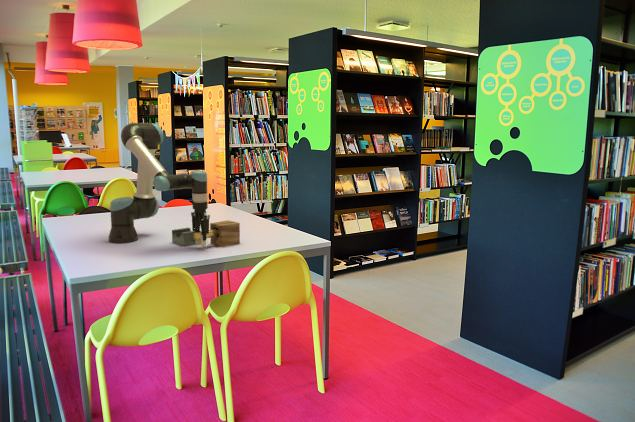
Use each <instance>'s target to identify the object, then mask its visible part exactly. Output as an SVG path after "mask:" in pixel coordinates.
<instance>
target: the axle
mask: <svg viewBox="0 0 635 422" xmlns="http://www.w3.org/2000/svg"><path fill="white" fill-rule="evenodd" d="M201 234H202V232H197V233H193V239H194V240H195V241H196V240H201ZM216 236H219V228H218V229H212V230H210V229H209V233H208V234H206V239H210V238H211V237H216Z"/></svg>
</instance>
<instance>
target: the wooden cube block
mask: <svg viewBox="0 0 635 422" xmlns="http://www.w3.org/2000/svg"><path fill="white" fill-rule="evenodd" d="M240 224H241V223H240V222H237V221H231V220H223V221H216V222H209V230H212V229H218V228H219V236H216V237H211V238H209V239H210V245H213V246H216V247H219V248H224V247H229V246H235V245H239V244H241V242H240V241H241V238H240V237H241V236H240V234H241V230H240V228H241V225H240Z"/></svg>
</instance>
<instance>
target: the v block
mask: <svg viewBox="0 0 635 422" xmlns="http://www.w3.org/2000/svg"><path fill="white" fill-rule="evenodd" d="M193 233H195V232H194V231H193V230H192V228H190V227H183V228H177V229H171V242H172V243H173V244H176V245H179V246H183V247H188V246H194V245H195V246H196V241H195V240H194V239H193Z"/></svg>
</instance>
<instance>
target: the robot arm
mask: <svg viewBox="0 0 635 422" xmlns="http://www.w3.org/2000/svg"><path fill="white" fill-rule="evenodd" d="M120 139H121V140H120V141H121V142H122V145H123V146H124V148H126V150H127V151H130V152H131V153H132V154H133V155H134V156H135V157H136V159H137V172H136V173H137V176H136V191H135V192H134V193H133V197H132V196H123V197H118V198H114V199H112V200H111V201H110V204H109V205H110V206H109V210H110V223H111V224H110V231H109V235H108V242H109V243H113V244H127V243H133V242H136V241H138V240H139V236H138V233H137V231H136V228H135V222H134V221H136V220H142V219H150V218H152V217H155V216H156V215H157V214H158V211H159V208H160V204H159V201H158V200H159V199H157V198H156V195H155V194H154V192H153V190H154V189H155V191H157V192H167V191H168V192H169V191H173V190H176V191H177V190H183V189H189V190H192V191H191V195H192V197H191V198H192V199H191V200H192V209H193V212H192V211H191V212H190V214H191V215H190V216H191V223H192V228H191V231H194V232H195V233H197V232H202V234H201V240H196V244H195V246H196V247H197V246H200V247H201V248H203V247H207V238H206V234H208V233H209V230H210V217H211V215H210V214H207V211H206V210H208V203H209V202H208V175H207V174H208V173H207V171H204V170H194V171H191V174H190V173H184V172H183V173H181V172H180V173H177V174H170V173H169V172H168V171H167V170H166V169H165V167H164V166H163V164H161V163H160V162H159V160H158V159H157V158H156V151H158V150H159V145H161V144H162V143H163V142H164V132H163V129H162V128H161V126H159V124H157V123H153V122H152V123H151V122H131V123H128V124H126V125H125V126H124V127H123V128H122V129H121V133H120ZM153 188H154V189H153Z"/></svg>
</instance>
